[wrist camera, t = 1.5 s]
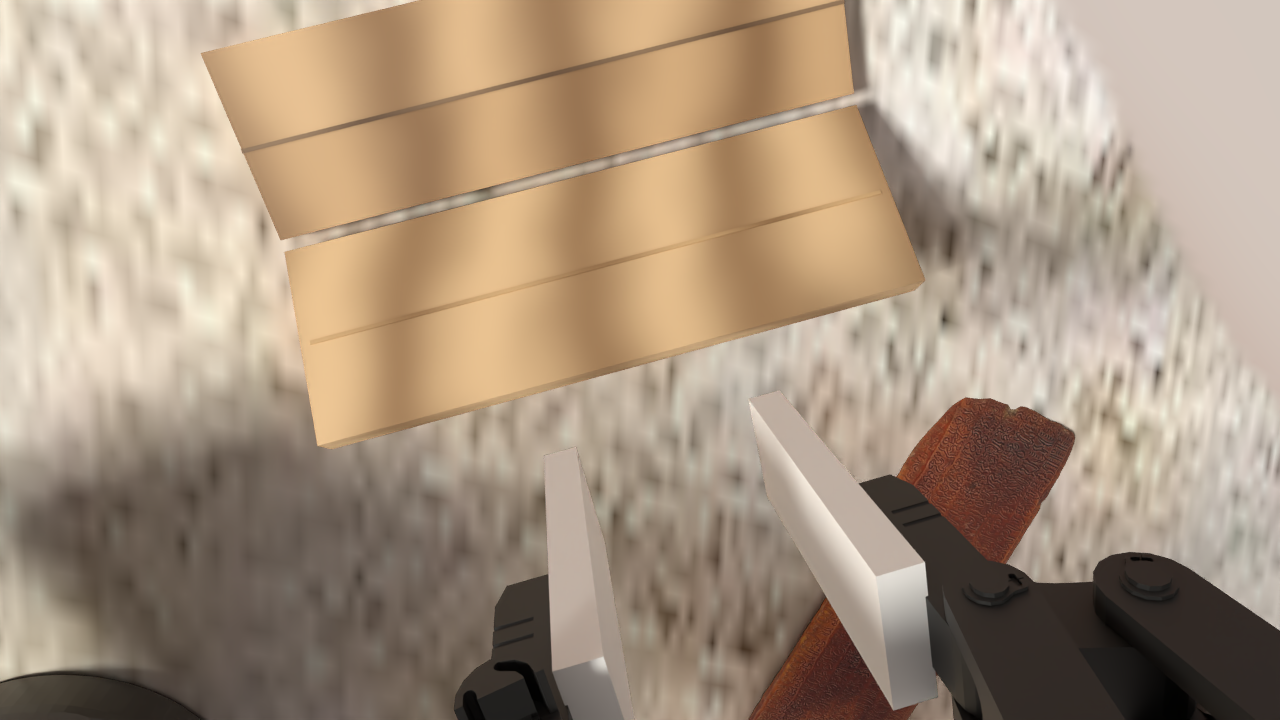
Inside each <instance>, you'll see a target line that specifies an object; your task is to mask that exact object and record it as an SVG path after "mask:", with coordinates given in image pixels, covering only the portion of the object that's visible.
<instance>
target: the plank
mask: <svg viewBox="0 0 1280 720" xmlns="http://www.w3.org/2000/svg"><path fill="white" fill-rule="evenodd" d="M285 257H286V263H287V269H288V275H289V281H290V287H291V293H292V299H293V305H294V310H295V316H296V322H297V328H298V334H299V340H300V346H301V352H302V358H303V364H304V369H305V375H306V381H307V387H308V393H309V399H310V405H311V411H312V417H313V423H314V428H315V434H316V440H317V446H320V447H324V448H328V449H335V448H338V447H342V446H346V445H349V444H353V443H357V442H360V441H364V440H368V439H371V438H375V437H379V436H382V435H386V434H390V433H393V432H397V431H401V430H404V429H408V428H412V427H415V426H419V425H423V424H426V423H430V422H434V421H437V420H441V419H445V418H448V417H452V416H456V415H459V414H463V413H467V412H470V411H474V410H478V409H481V408H485V407H489V406H492V405H496V404H500V403H504V402H507V401H511V400H515V399H518V398H522V397H526V396H529V395H533V394H537V393H540V392H544V391H548V390H551V389H555V388H559V387H562V386H566V385H570V384H573V383H577V382H581V381H584V380H588V379H592V378H595V377H599V376H603V375H606V374H610V373H614V372H617V371H621V370H625V369H628V368H632V367H636V366H639V365H643V364H647V363H650V362H654V361H658V360H661V359H665V358H669V357H672V356H676V355H680V354H683V353H687V352H691V351H694V350H698V349H702V348H705V347H709V346H713V345H716V344H720V343H724V342H727V341H731V340H735V339H738V338H742V337H746V336H749V335H753V334H757V333H760V332H764V331H768V330H771V329H775V328H779V327H782V326H786V325H790V324H793V323H797V322H801V321H804V320H808V319H812V318H815V317H819V316H823V315H826V314H830V313H834V312H837V311H841V310H845V309H848V308H852V307H856V306H859V305H863V304H867V303H870V302H874V301H878V300H881V299H885V298H889V297H892V296H896V295H900V294H903V293H907V292H911V291H914V290H915V289H916V288H918V287H919V286H920V285H921V284H922V283H923V282H924V281H925V278H924V275H923V273H922V270H921V268H920V265H919V263H918V260H917V258H916V255H915V253H914V250H913V247H912V245H911V242H910V240H909V237H908V235H907V232H906V230H905V227H904V225H903V222H902V220H901V217H900V214H899V212H898V209H897V207H896V204H895V202H894V199H893V197H892V194H891V192H890V189H889V187H888V184H887V181H886V179H885V176H884V174H883V171H882V169H881V166H880V164H879V161H878V159H877V156H876V154H875V151H874V149H873V146H872V143H871V141H870V138H869V136H868V133H867V131H866V128H865V126H864V123H863V121H862V118H861V116H860V113H859V110H858V108H857V105H854V106H850V107H846V108H843V109H839V110H835V111H831V112H827V113H823V114H819V115H815V116H811V117H808V118H804V119H800V120H796V121H792V122H788V123H784V124H780V125H776V126H773V127H769V128H765V129H761V130H757V131H753V132H749V133H745V134H741V135H738V136H734V137H730V138H726V139H722V140H718V141H714V142H710V143H707V144H703V145H699V146H695V147H691V148H687V149H683V150H679V151H675V152H672V153H668V154H664V155H660V156H656V157H652V158H648V159H644V160H640V161H637V162H633V163H629V164H625V165H621V166H617V167H613V168H609V169H605V170H602V171H598V172H594V173H590V174H586V175H582V176H578V177H574V178H570V179H567V180H563V181H559V182H555V183H551V184H547V185H543V186H539V187H535V188H532V189H528V190H524V191H520V192H516V193H512V194H508V195H504V196H501V197H497V198H493V199H489V200H485V201H481V202H477V203H473V204H469V205H466V206H462V207H458V208H454V209H450V210H446V211H442V212H438V213H434V214H431V215H427V216H423V217H419V218H415V219H411V220H407V221H403V222H399V223H396V224H392V225H388V226H384V227H380V228H376V229H372V230H368V231H364V232H361V233H357V234H353V235H349V236H345V237H341V238H337V239H333V240H329V241H326V242H322V243H318V244H314V245H310V246H306V247H302V248H298V249H295V250H291V251H287V252H285Z"/></svg>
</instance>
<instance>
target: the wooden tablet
mask: <svg viewBox="0 0 1280 720" xmlns="http://www.w3.org/2000/svg"><path fill="white" fill-rule="evenodd" d="M1074 439H1075V437H1074V434H1073V433H1072V431H1070V430H1068V429H1065V428H1064V427H1063V426H1062V425H1060V424H1059V423H1056V422H1052V421H1050V420H1048V419H1046V418H1045V417H1043V416H1042V415H1040V414H1039V413H1037V412H1035V411H1033V410H1032V409H1029V408H1027V407H1019V408H1017V409H1010V407H1009V406H1008V405H1007V404H1004V403H1001V402H998V401H996V400H993V399H991V398H988V399H973V398H964V399H962V400H960V401H959V402H957V403H955V404H954V405H953V406H952V407H951V408H950V409H949V410H948V411H947V412H946V413H945V414H944V415H943V416H942V417H941V418H940V419H939V421H938V422H937V423H936V424H935V425H934V426H933V427H932V428H931V429H930V430H929V431H928V432H927V433H926V435H925V436H924V437H923V438H922V439H921V440H920V442H919V443H918V444H917V446H916V447H915V448H914V450H913V451H912V452H911V454H910V455H909V457H908V459H907V460H906V462H905V464H904V465H903V467H902V469H901V471H900V472H899V474H898V476H897V478H899V479H901V480H903V481H906V482H908V483H910V484H912V485H914V486H915V487H916V488H917V489H918V490H919V491H920V492H921V493H922V494H923V495H924V496H925V497H926V498H927V499H928V501H929V503H930V504H932V505H933V506H934V507H935V508H936V509H937V510H938V511H939V512H940V513H941V515H942V516H944V517H945V518H946V519H947V520H948V521H949V522H950V523H951V524H952V525H953V526H954V527H955V528H956V529H957V530H958V531H959V532H960V533H961V534H962V535H963V536H964V537H965V538H966V539H967V540H968V541H969V542H970V543H971V544H972V545H973V546H974V547H975V548H976V549H977V550H978V551H979V552H980V553H981V554H982V555H983V556H984V557H985V558H986V559H987V560H988V561H995V562H999V563H1004V564H1006V563H1007V561H1008V559H1009V558H1010V556H1011V555H1012V553H1013V551H1014V549H1015V548H1016V546H1017V545H1018V544H1019V542H1020V540H1021V539H1022V537H1023V535H1024V533H1025V531H1026V530H1027V528H1028V527H1029V526H1030V524H1031V522H1032V520H1033V519H1034V517H1035V516H1036V514H1037V513H1038V511H1039V509H1040V505H1041V503H1042V502H1043V501H1044V500H1045V499H1046V497H1047V496H1048V494H1049V492H1050V490H1051V488H1052V487H1053V485H1054V483H1055V482H1056V480H1057V479H1058V477H1059V475H1060V472H1061V471H1062V469H1063V467H1064V466H1065V464H1066V461H1067V459H1068V457H1069V455H1070V452H1071V450H1072V447H1073V444H1074ZM937 675H938V674H937V673H936V676H937ZM917 705H918V703H917V704H914V705H910V706H907V707H904V708H900V709H897V710H894V711H893V709H892V707H891V706H890V704H889V702H888V700H887V699H886V697H885V695H884V694H883V692H882V690H881V689H880V687H879V685H878V684H877V682H876V680H875V678H874V677H873V675H872V673H871V672H870V670H869V668H868V667H867V665H866V663H865V662H864V660H863V658H862V656H861V655H860V653H859V651H858V650H857V648H856V646H855V645H854V643H853V641H852V640H851V638H850V636H849V634H848V633H847V631H846V629H845V628H844V626H843V624H842V623H841V621H840V619H839V618H838V616H837V614H836V612H835V611H834V609H833V607H832V606H831V604H830V602H829V601H828V599H827V597H826V598H825V600H824V602H823V603H822V605H821V607H820V609H819V610H818V612H817V613H816V614H815V616H814V617H813V619H812V621H811V622H810V624H809V625H808V627H807V628H806V630H805V631H804V633H803V634H802V636H801V638H800V639H799V641H798V643H797V644H796V646H795V647H794V649H793V651H792V652H791V654H790V655H789V657H788V659H787V660H786V662H785V663H784V665H783V667H782V668H781V670H780V671H779V673H778V674H777V675H776V677H775V678H774V680H773V681H772V683H771V684H770V686H769V687H768V689H767V690H766V691H765V693H764V694H763V696H762V698H761V700H760V702H759V703H758V704H757V706H756V707H755V709H754V711H753V713H752V714H751V716H750V718H749V720H907V719H908V718H909V716H910V715H911V713H912V712H913V710H914V709H915V707H916V706H917Z"/></svg>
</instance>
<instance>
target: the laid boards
mask: <svg viewBox="0 0 1280 720" xmlns="http://www.w3.org/2000/svg"><path fill="white" fill-rule="evenodd" d="M844 4H845V2H844V0H419V1H415V2H411V3H407V4H403V5H398V6H394V7H390V8H386V9H382V10H378V11H374V12H369V13H365V14H361V15H357V16H353V17H349V18H345V19H340V20H336V21H332V22H328V23H324V24H320V25H316V26H311V27H307V28H303V29H299V30H295V31H291V32H287V33H282V34H278V35H274V36H270V37H266V38H262V39H258V40H253V41H249V42H245V43H241V44H237V45H233V46H229V47H224V48H220V49H216V50H212V51H208V52H204V53H201V55H202V58H203V60H204V62H205V65H206V67H207V69H208V72H209V74H210V76H211V79H212V81H213V83H214V86H215V88H216V90H217V93H218V95H219V97H220V100H221V102H222V104H223V107H224V109H225V111H226V114H227V116H228V118H229V121H230V123H231V125H232V128H233V130H234V132H235V135H236V137H237V139H238V142H239V144H240V146H241V150H242V153H244V156H245V158H246V160H247V163H248V165H249V167H250V170H251V172H252V174H253V177H254V179H255V181H256V184H257V186H258V188H259V191H260V193H261V195H262V198H263V200H264V202H265V205H266V207H267V209H268V212H269V214H270V216H271V219H272V221H273V223H274V226H275V228H276V230H277V233H278V235H279V237H280V240H284V239H288V238H292V237H295V236H299V235H303V234H307V233H311V232H315V231H319V230H323V229H327V228H331V227H334V226H338V225H342V224H346V223H350V222H354V221H358V220H362V219H366V218H370V217H373V216H377V215H381V214H385V213H389V212H393V211H397V210H401V209H405V208H409V207H412V206H416V205H420V204H424V203H428V202H432V201H436V200H440V199H444V198H448V197H451V196H455V195H459V194H463V193H467V192H471V191H475V190H479V189H483V188H487V187H491V186H494V185H498V184H502V183H506V182H510V181H514V180H518V179H522V178H526V177H530V176H533V175H537V174H541V173H545V172H549V171H553V170H557V169H561V168H565V167H569V166H572V165H576V164H580V163H584V162H588V161H592V160H596V159H600V158H604V157H608V156H611V155H615V154H619V153H623V152H627V151H631V150H635V149H639V148H643V147H647V146H650V145H654V144H658V143H662V142H666V141H670V140H674V139H678V138H682V137H686V136H689V135H693V134H697V133H701V132H705V131H709V130H713V129H717V128H721V127H725V126H728V125H732V124H736V123H740V122H744V121H748V120H752V119H756V118H760V117H764V116H767V115H771V114H775V113H779V112H783V111H787V110H791V109H795V108H799V107H803V106H806V105H810V104H814V103H818V102H822V101H826V100H830V99H834V98H838V97H842V96H845V95H849V94H853V93H854V90H853V81H852V72H851V62H850V53H849V44H848V35H847V26H846V17H845V8H844Z"/></svg>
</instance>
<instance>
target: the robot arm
mask: <svg viewBox="0 0 1280 720" xmlns="http://www.w3.org/2000/svg"><path fill="white" fill-rule="evenodd" d="M748 400H749V405H750V411H751V416H752V421H753V426H754V431H755V437H756V442H757V447H758V452H759V458H760V463H761V468H762V473H763V478H764V484H765V489H766V494H767V497H768V499H769V501H770V502H771V504H772V506H773V508H774V509H775V511H776V513H777V514H778V516H779V518H780V519H781V521H782V523H783V524H784V526H785V528H786V530H787V531H788V533H789V535H790V536H791V538H792V540H793V541H794V543H795V545H796V546H797V548H798V550H799V552H800V553H801V555H802V557H803V558H804V560H805V562H806V563H807V565H808V567H809V568H810V570H811V572H812V574H813V575H814V577H815V579H816V580H817V582H818V584H819V585H820V587H821V589H822V590H823V592H824V594H825V596H826V597H827V599H828V601H829V602H830V604H831V606H832V607H833V609H834V611H835V612H836V614H837V616H838V618H839V619H840V621H841V623H842V624H843V626H844V628H845V629H846V631H847V633H848V634H849V636H850V638H851V640H852V641H853V643H854V645H855V646H856V648H857V650H858V651H859V653H860V655H861V656H862V658H863V660H864V662H865V663H866V665H867V667H868V668H869V670H870V672H871V673H872V675H873V677H874V678H875V680H876V682H877V684H878V685H879V687H880V689H881V690H882V692H883V694H884V695H885V697H886V699H887V700H888V702H889V704H890V706H891V707H892V709H893V711H894V710H897V709H900V708H904V707H907V706H910V705H914V704H917V703H920V702H923V701H927V700H930V699H933V698H937V697H938V692H937V682H936V673H937V674H938V675H939V677H940V678H941V680H942V681H943V682H944V684H945V685H946V687H947V688H948V690H949V691H950V692H951V694H952V704H953V716H954V720H1280V631H1279V630H1278V629H1276V628H1275V627H1273V626H1272V625H1271V624H1269V623H1268V622H1266V621H1265V620H1263V619H1262V618H1260V617H1259V616H1257V615H1256V614H1255V613H1253V612H1252V611H1250V610H1249V609H1247V608H1246V607H1244V606H1243V605H1241V604H1240V603H1238V602H1237V601H1236V600H1234V599H1233V598H1231V597H1230V596H1228V595H1227V594H1225V593H1224V592H1222V591H1221V590H1220V589H1218V588H1217V587H1215V586H1214V585H1212V584H1211V583H1209V582H1208V581H1206V580H1205V579H1203V578H1202V577H1201V576H1199V575H1198V574H1196V573H1195V572H1193V571H1192V570H1190V569H1189V568H1187V567H1185V566H1183V565H1181V564H1179V563H1177V562H1175V561H1173V560H1171V559H1168V558H1165V557H1161V556H1157V555H1154V554H1150V553H1135V552H1127V553H1121V554H1115V555H1111V556H1109V557H1107V558H1105V559H1103V560H1102V561H1100V562H1099V563H1098V565H1097V566H1096V568H1095V570H1094V572H1093V582H1080V583H1055V584H1054V583H1036V582H1033V581H1032V580H1031V579H1030V578H1029V577H1028V576H1027V575H1026V574H1025V573H1024V572H1022V571H1020V570H1018V569H1016V568H1014V567H1012V566H1010V565H1008V564H1004V563H999V562H995V561H988V560H987V559H986V558H985V557H984V556H983V555H982V554H981V553H980V552H979V551H978V550H977V549H976V548H975V547H974V546H973V545H972V544H971V543H970V542H969V541H968V540H967V539H966V538H965V537H964V536H963V535H962V534H961V533H960V532H959V531H958V530H957V529H956V528H955V527H954V526H953V525H952V524H951V523H950V522H949V521H948V520H947V519H946V518H945V517H944V516H942V515H941V513H940V512H939V511H938V510H937V509H936V508H935V507H934V506H933V505H932V504H930V503H929V501H928V499H927V498H926V497H925V496H924V495H923V494H922V493H921V492H920V491H919V490H918V489H917V488H916V487H915V486H914V485H912V484H910V483H908V482H906V481H903V480H901V479H899V478H897V477H895V476H892V475H887V476H883V477H880V478H876V479H873V480H869V481H866V482H862V483H859V484H858V483H857V481H856V480H855V479H854V478H853V477H852V475H851V474H850V473H849V472H848V471H847V470H846V468H845V467H844V466H843V465H842V464H841V462H840V461H839V460H838V459H837V458H836V457H835V455H834V454H833V453H832V452H831V451H830V449H829V448H828V447H827V446H826V445H825V444H824V442H823V441H822V440H821V439H820V438H819V436H818V435H817V434H816V433H815V432H814V431H813V429H812V428H811V427H810V426H809V425H808V423H807V422H806V421H805V420H804V419H803V418H802V416H801V415H800V414H799V413H798V412H797V410H796V409H795V408H794V407H793V406H792V405H791V403H790V402H789V401H788V400H787V399H786V397H785V396H784V395H783V394H782V393H781V392H780V390H778V391H775V392H771V393H768V394H764V395H760V396H757V397H753V398H750V399H748ZM544 472H545V498H546V524H547V550H548V575H544V576H541V577H537V578H534V579H530V580H527V581H523V582H520V583H516V584H513V585H509V586H507V587H506V589H505V590H504V592H503V594H502V596H501V598H500V599H499V601H498V603H497V605H496V607H495V617H494V632H493V649H492V659H491V660H489V661H487V662H486V663H484V664H482V665H481V666H479V667H477V668H476V669H475V670H474V671H473V672H472V673H471V674H470V675H469V676H468V677H467V678H466V679H465V680H464V681H463V683H462V685H461V686H460V688H459V690H458V692H457V694H456V696H455V705H454V711H455V714H456V716H457V718H458V720H635V718H634V712H633V706H632V700H631V694H630V688H629V682H628V677H627V671H626V665H625V659H624V653H623V647H622V641H621V635H620V629H619V623H618V617H617V611H616V605H615V599H614V593H613V587H612V581H611V575H610V569H609V563H608V557H607V551H606V546H605V541H604V538H603V534H602V531H601V528H600V524H599V521H598V518H597V515H596V511H595V508H594V505H593V501H592V498H591V495H590V491H589V488H588V485H587V481H586V478H585V475H584V472H583V468H582V465H581V462H580V458H579V455H578V452H577V448H576V447H573V448H569V449H566V450H562V451H559V452H555V453H551V454H548V455H544ZM0 720H201V719H199V718H198V717H197V716H195V715H194V714H193V713H192V712H190V711H188V710H187V709H185V708H184V707H182V706H181V705H179V704H177V703H175V702H174V701H172V700H170V699H168V698H166V697H164V696H162V695H159V694H157V693H155V692H152V691H150V690H147V689H144V688H141V687H138V686H135V685H132V684H128V683H124V682H120V681H116V680H111V679H106V678H99V677H92V676H80V675H46V676H35V677H28V678H22V679H16V680H12V681H8V682H4V683H0Z"/></svg>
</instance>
